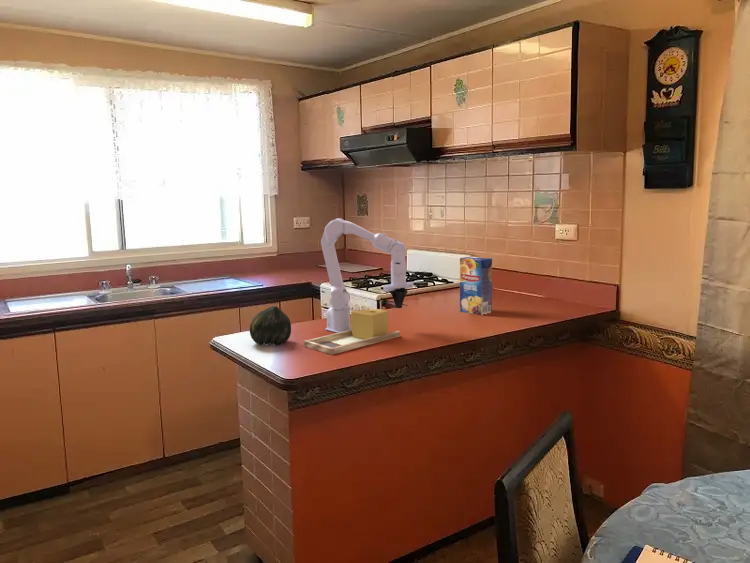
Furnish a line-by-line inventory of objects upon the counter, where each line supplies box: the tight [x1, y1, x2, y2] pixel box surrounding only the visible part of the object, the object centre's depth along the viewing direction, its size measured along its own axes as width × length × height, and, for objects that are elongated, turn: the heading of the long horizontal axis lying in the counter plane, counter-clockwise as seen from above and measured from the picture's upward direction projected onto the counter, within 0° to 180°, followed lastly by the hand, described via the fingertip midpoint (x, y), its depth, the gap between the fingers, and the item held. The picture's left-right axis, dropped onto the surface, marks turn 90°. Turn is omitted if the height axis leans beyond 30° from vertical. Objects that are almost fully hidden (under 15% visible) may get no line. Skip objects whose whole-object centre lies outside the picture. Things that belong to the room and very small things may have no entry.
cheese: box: [350, 308, 389, 339], centre depth 229 cm, size 10×11×10 cm
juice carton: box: [459, 256, 493, 316], centre depth 267 cm, size 12×8×24 cm, turn 42°
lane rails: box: [303, 330, 401, 355], centre depth 224 cm, size 16×33×2 cm, turn 133°
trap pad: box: [319, 341, 340, 348], centre depth 217 cm, size 13×8×1 cm, turn 43°
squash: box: [249, 305, 292, 346], centre depth 222 cm, size 14×15×15 cm
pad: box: [328, 335, 364, 346], centre depth 224 cm, size 13×12×1 cm
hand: (398, 307), depth 237 cm, fingers closed
